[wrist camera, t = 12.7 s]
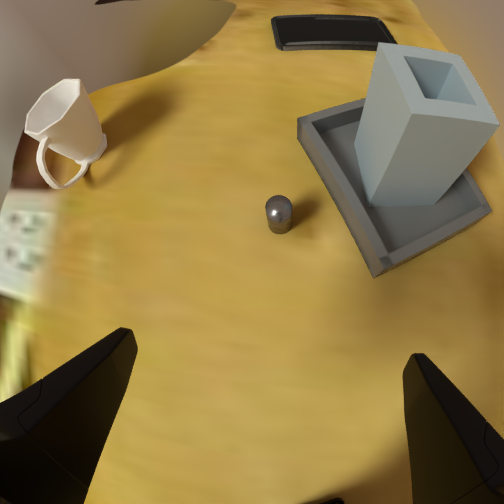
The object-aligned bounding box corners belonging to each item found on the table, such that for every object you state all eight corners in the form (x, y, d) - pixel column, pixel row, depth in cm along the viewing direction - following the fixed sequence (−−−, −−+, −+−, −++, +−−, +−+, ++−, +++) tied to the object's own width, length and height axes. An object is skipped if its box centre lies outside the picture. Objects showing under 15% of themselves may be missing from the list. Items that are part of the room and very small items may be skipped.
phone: (400, 48, 28) (276, 46, 30) (398, 55, 29) (277, 53, 31) (379, 17, 31) (270, 15, 32) (378, 23, 32) (270, 22, 33)
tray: (476, 223, 22) (492, 210, 20) (373, 278, 22) (383, 269, 19) (399, 107, 26) (405, 88, 24) (297, 138, 26) (297, 118, 24)
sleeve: (433, 205, 22) (500, 125, 12) (367, 207, 23) (411, 113, 12) (411, 131, 25) (449, 41, 14) (350, 129, 25) (370, 28, 15)
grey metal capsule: (295, 228, 24) (296, 213, 21) (273, 237, 24) (271, 223, 21) (285, 209, 24) (285, 191, 22) (264, 217, 24) (261, 201, 22)
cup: (125, 118, 30) (92, 68, 22) (104, 200, 27) (54, 156, 19) (76, 130, 31) (39, 88, 23) (52, 206, 28) (2, 171, 20)
